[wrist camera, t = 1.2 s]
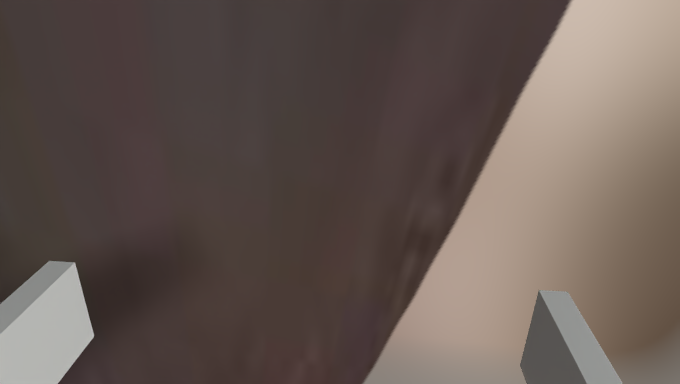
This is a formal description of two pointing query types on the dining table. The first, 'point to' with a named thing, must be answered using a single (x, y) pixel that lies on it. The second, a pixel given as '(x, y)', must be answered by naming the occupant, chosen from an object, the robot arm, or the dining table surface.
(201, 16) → the dining table surface
